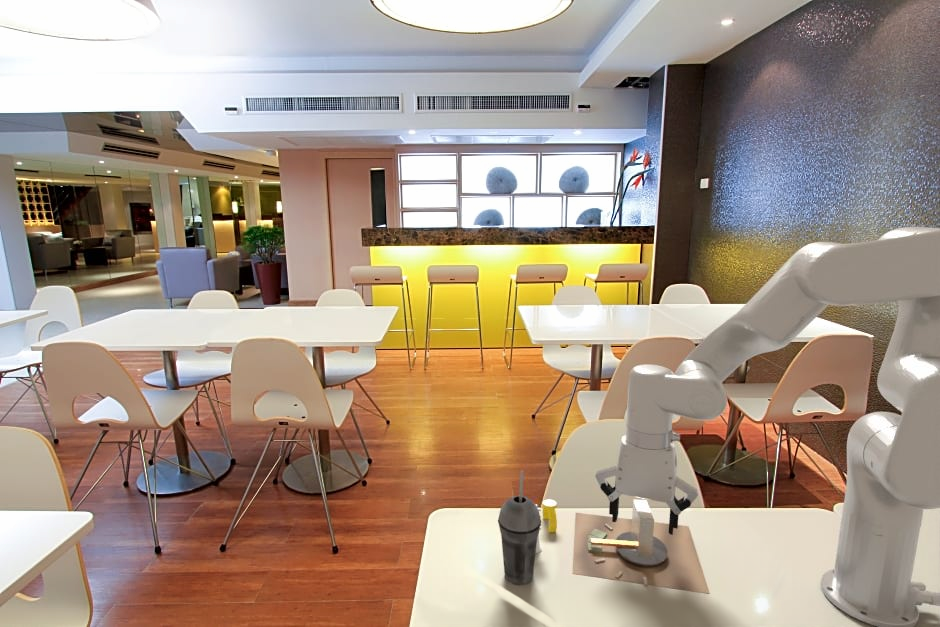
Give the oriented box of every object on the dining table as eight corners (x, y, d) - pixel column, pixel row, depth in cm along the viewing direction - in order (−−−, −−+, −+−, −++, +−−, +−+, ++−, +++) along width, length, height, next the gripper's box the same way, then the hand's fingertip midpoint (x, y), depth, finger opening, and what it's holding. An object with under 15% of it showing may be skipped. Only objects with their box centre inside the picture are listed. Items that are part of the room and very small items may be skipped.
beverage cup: (492, 590, 86) (492, 480, 82) (504, 563, 93) (505, 461, 89) (534, 601, 84) (536, 488, 80) (543, 572, 90) (546, 467, 87)
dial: (660, 537, 98) (663, 497, 96) (672, 569, 89) (675, 526, 87) (588, 532, 99) (590, 493, 98) (593, 562, 91) (595, 520, 89)
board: (688, 531, 102) (688, 524, 102) (709, 601, 83) (710, 593, 83) (575, 517, 107) (575, 510, 106) (572, 581, 88) (572, 572, 88)
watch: (560, 538, 100) (560, 511, 99) (546, 539, 100) (546, 512, 98) (552, 521, 106) (552, 494, 105) (538, 522, 105) (539, 495, 104)
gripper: (701, 435, 90) (694, 523, 93) (601, 420, 96) (597, 503, 99) (702, 453, 83) (694, 548, 86) (594, 436, 90) (590, 524, 93)
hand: (642, 524), depth 93 cm, fingers open, 9 cm apart
